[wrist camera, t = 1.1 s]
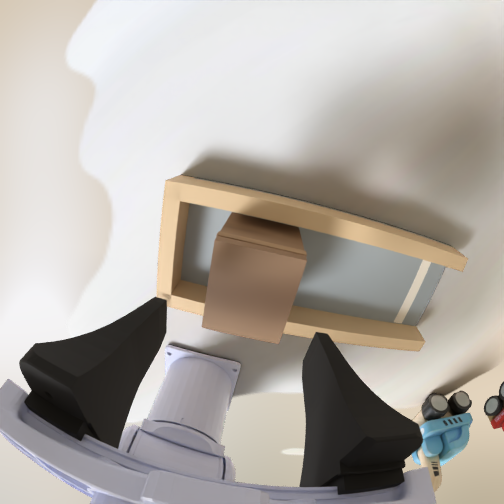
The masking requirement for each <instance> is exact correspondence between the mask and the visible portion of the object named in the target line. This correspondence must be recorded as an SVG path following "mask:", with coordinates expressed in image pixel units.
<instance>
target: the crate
mask: <svg viewBox="0 0 504 504" xmlns="http://www.w3.org/2000/svg"><path fill="white" fill-rule="evenodd" d="M306 256H307V253H306V251H305V250H304V246H303V242H302V238H301V234H300V230H299V227H296V226H292V225H287V224H283V223H279V222H274V221H270V220H266V219H261V218H257V217H252V216H248V215H243V214H239V213H234V212H232V213H231V214H230V216H229V218H228V219H227V221H226V222H225V224H224V226H223V227H222V229H221V230H220V231H219V232H218V233H217V235H216V239H215V241H214V247H213V253H212V260H211V266H210V273H209V279H208V286H207V293H206V300H205V307H204V314H203V322H202V327H203V328H207V329H211V330H215V331H219V332H223V333H228V334H232V335H236V336H241V337H246V338H250V339H255V340H260V341H265V342H270V343H276V344H279V342H280V339H281V337H282V334H283V331H284V328H285V325H286V323H287V320H288V317H289V314H290V311H291V308H292V305H293V302H294V299H295V297H296V294H297V291H298V288H299V284H300V281H301V278H302V275H303V272H304V269H305V266H306V263H307V258H306Z"/></svg>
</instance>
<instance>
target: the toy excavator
mask: <svg viewBox="0 0 504 504" xmlns="http://www.w3.org/2000/svg"><path fill="white" fill-rule="evenodd" d="M471 404H472V401H471V400H470V399H469V396H468V394H467V393H466V392H464V391H459V392H457V393H454V394H453V395H452V396H451V397H450V399H449V400H448V402H447V398H446V397H444V396H443V395H441V394H440V395H436V393H433V394H432V395H430V396H429V398H428V399H427V400H426V401H425V403H424V404H423V405H422V409H421V411H420V412H419V413H418V414H417V416H416V417H415V418H414V419H413V420H412V421H414V422H416V423H417V424H418V425H419V427H420V430H421V433H422V436H423V443H422V444H421V446H420V447H419V448H418V449H417V450H416V451H415V452H414V453H412V457H413V460H414V462H415V463H416V464H419V465H421V466H422V468H424V467H428V470H429V474H430V478H431V482H432V486H433V490H434V492H435V491H436V490H437V489H438V488H439V486H440V485H441V481H442V474H441V466H442V465H444V464H445V463H447V462H448V461H449V460H450V459H452V458H453V457H455V456H456V455H457V454H458V453H459V452H461V451H462V450H463V449H464V448H465V447H466V445H467V443H468V441H469V427H470V425H471V423H472V421H473V419H472V417H471V414H470V413H465V412H466V411H467V410H468V409H469V408H470V407H471Z"/></svg>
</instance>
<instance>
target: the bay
mask: <svg viewBox="0 0 504 504" xmlns="http://www.w3.org/2000/svg"><path fill="white" fill-rule="evenodd" d="M232 212H234V213H239V214H243V215H248V216H252V217H257V218H261V219H266V220H270V221H274V222H279V223H283V224H287V225H292V226H296V227H299V230H300V234H301V238H302V242H303V246H304V250H305V251H306V253H307V256H306V258H307V263H306V266H305V269H304V272H303V275H302V278H301V281H300V284H299V288H298V291H297V294H296V297H295V299H294V302H293V305H292V308H291V311H290V314H289V317H288V320H287V323H286V325H285V328H284V331H283V333H284V334H289V335H295V336H301V337H307V338H312V339H313V337H314V335H315V332H321V333H327V334H328V335H329V336H330V338H331V339H332V341H333V342H338V343H346V344H353V345H361V346H369V347H378V348H387V349H397V350H408V351H420V349H421V348H422V346H423V345H424V343H425V340H424V339H423V337H422V335H421V334H420V332H419V330H418V329H417V327H416V325H417V323H418V322H419V320H420V318H421V316H422V314H423V313H424V311H425V309H426V307H427V305H428V303H429V301H430V299H431V297H432V295H433V293H434V291H435V289H436V287H437V285H438V283H439V280H440V278H441V276H442V274H443V272H444V269H445V267H449V268H452V269H455V270H459V271H462V272H463V270H464V267H465V265H466V263H467V260H468V258H466V257H465V256H464V255H463V254H461V253H460V252H459V251H457V250H456V249H455V248H453V247H452V246H450V245H448V244H445V243H442V242H439V241H437V240H434V239H431V238H428V237H425V236H422V235H419V234H416V233H413V232H410V231H407V230H404V229H401V228H398V227H395V226H391V225H388V224H385V223H382V222H379V221H375V220H372V219H369V218H365V217H362V216H358V215H355V214H351V213H348V212H344V211H341V210H337V209H333V208H330V207H326V206H322V205H318V204H314V203H310V202H306V201H302V200H298V199H294V198H290V197H286V196H282V195H278V194H273V193H269V192H264V191H260V190H255V189H251V188H246V187H241V186H237V185H232V184H227V183H222V182H216V181H211V180H206V179H200V178H195V177H189V176H183V175H179V176H176V177H174V178H171V179H168V180H166V182H165V190H164V198H163V207H162V217H161V228H160V240H159V254H158V273H157V297H158V298H162V299H165V300H167V306H168V307H171V308H175V309H179V310H182V311H186V312H190V313H194V314H198V315H202V316H203V314H204V307H205V300H206V293H207V286H208V279H209V273H210V266H211V260H212V253H213V247H214V241H215V239H216V235H217V233H218V232H219V231H220V230H221V229H222V227H223V226H224V224H225V222H226V221H227V219H228V218H229V216H230V214H231V213H232Z"/></svg>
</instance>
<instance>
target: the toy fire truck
mask: <svg viewBox="0 0 504 504" xmlns="http://www.w3.org/2000/svg"><path fill="white" fill-rule="evenodd" d="M484 412H485V413H486V415H487V416H488V418H489V420H490V422H491V425H492V426H493V428H494V429H496V428H500V427H502V429H503V431H504V382H503V383H502V384H501V386H500V389H499V396H492V397H490V398H489V399H488V400H487V401H486V403H485V406H484Z"/></svg>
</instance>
